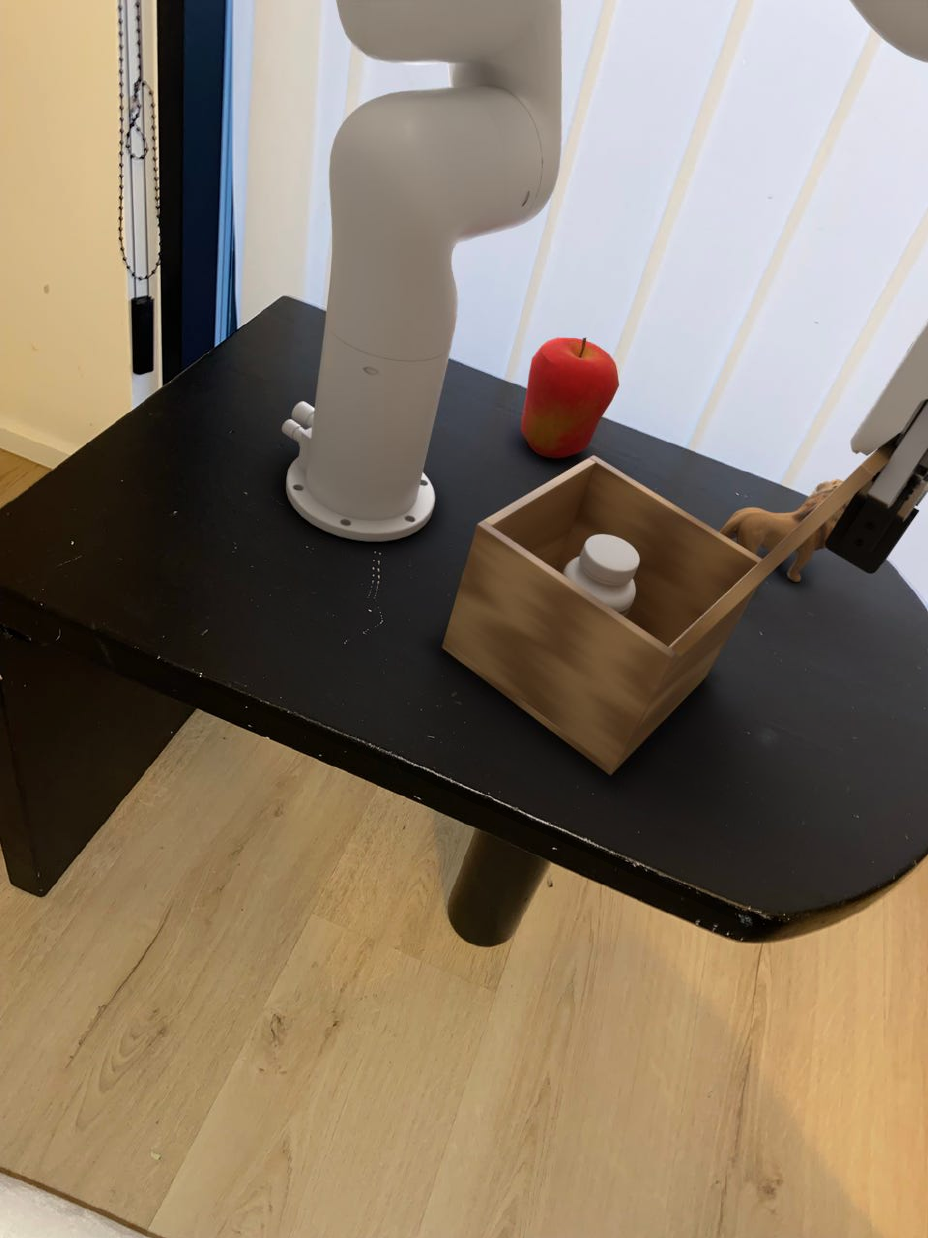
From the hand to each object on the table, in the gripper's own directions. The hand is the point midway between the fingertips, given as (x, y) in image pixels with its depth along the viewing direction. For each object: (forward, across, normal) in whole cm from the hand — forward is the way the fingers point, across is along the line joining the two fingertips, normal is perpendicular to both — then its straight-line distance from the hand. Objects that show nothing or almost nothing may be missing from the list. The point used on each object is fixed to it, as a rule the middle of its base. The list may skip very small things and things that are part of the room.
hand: (852, 555), depth 54 cm
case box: (+20, 0, -12) cm, 23 cm away
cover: (0, 0, -3) cm, 3 cm away
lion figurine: (+20, -24, -8) cm, 32 cm away
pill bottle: (+19, 0, -13) cm, 23 cm away
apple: (+20, -23, -32) cm, 44 cm away
